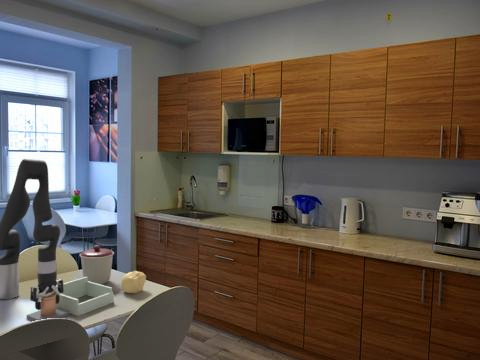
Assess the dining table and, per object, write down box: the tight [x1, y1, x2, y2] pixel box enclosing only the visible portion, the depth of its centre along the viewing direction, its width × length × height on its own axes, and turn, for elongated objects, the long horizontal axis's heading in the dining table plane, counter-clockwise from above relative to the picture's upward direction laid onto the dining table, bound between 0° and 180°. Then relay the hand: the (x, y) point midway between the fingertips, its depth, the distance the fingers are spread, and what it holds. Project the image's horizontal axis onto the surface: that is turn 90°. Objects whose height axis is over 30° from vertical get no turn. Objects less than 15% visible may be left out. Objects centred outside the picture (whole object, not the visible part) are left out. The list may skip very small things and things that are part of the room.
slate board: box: [26, 308, 69, 322], centre depth 177 cm, size 12×12×2 cm
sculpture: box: [121, 270, 147, 294], centre depth 210 cm, size 12×12×11 cm
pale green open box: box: [52, 277, 114, 317], centre depth 192 cm, size 20×20×9 cm
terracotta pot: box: [40, 293, 56, 316], centre depth 177 cm, size 6×6×8 cm
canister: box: [79, 244, 115, 285], centre depth 223 cm, size 18×18×21 cm
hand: (47, 306), depth 176 cm, fingers open, 8 cm apart
